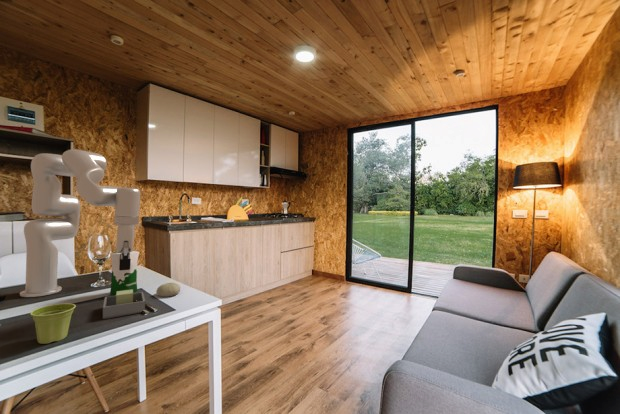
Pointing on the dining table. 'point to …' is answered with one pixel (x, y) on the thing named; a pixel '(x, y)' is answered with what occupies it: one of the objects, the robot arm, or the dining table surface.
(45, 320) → the plant pot
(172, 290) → the sea urchin shell
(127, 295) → the olive block
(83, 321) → the dining table surface
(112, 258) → the milk carton
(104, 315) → the tray
